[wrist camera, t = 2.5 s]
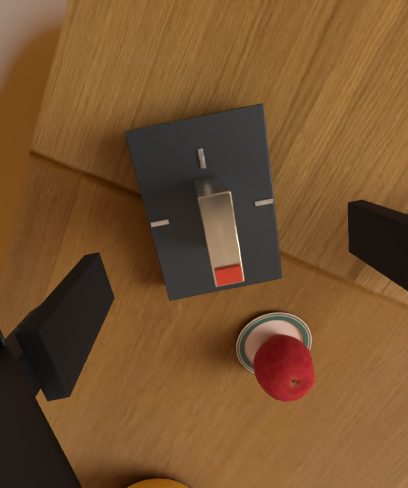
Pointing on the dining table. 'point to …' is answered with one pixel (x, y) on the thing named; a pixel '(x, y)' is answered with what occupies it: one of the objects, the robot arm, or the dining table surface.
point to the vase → (158, 484)
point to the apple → (278, 354)
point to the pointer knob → (220, 230)
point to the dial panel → (185, 199)
